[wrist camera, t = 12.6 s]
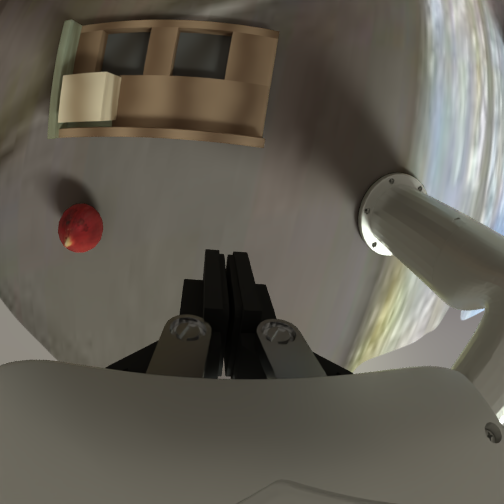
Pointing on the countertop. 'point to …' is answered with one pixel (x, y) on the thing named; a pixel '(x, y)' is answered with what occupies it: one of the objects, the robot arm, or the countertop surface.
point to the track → (172, 79)
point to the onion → (80, 228)
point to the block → (89, 97)
